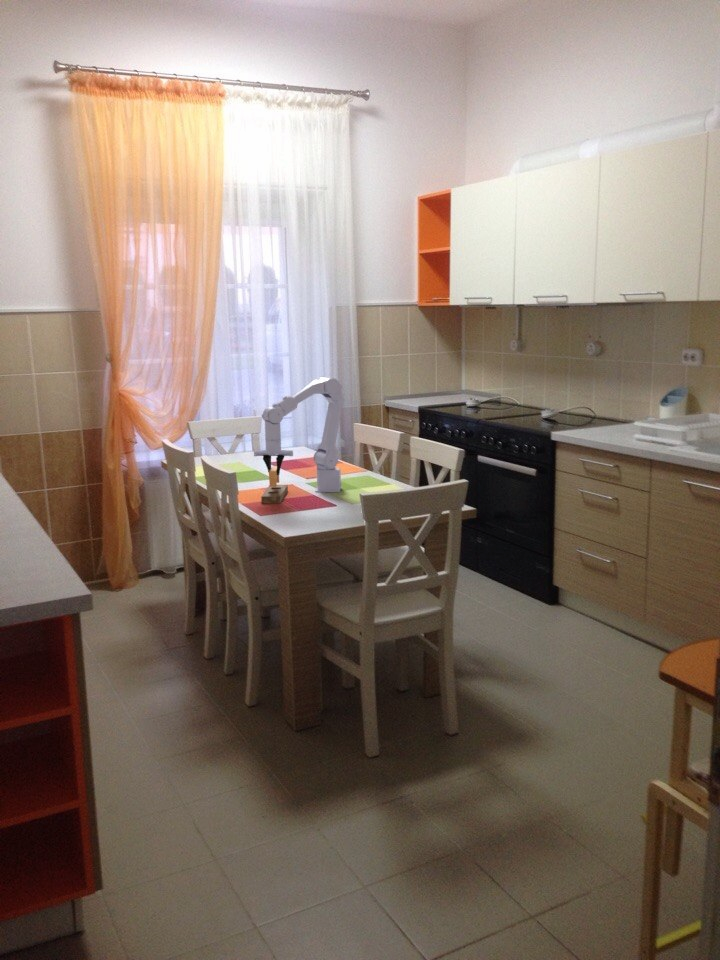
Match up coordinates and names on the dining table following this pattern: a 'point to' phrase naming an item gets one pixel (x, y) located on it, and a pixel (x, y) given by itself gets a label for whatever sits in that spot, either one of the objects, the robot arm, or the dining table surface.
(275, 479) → the tan wooden beam
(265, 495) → the rail
